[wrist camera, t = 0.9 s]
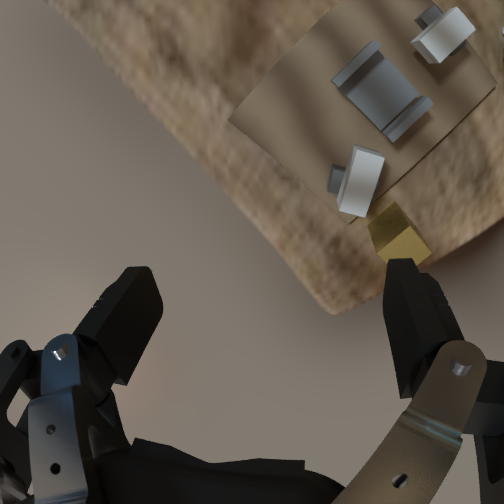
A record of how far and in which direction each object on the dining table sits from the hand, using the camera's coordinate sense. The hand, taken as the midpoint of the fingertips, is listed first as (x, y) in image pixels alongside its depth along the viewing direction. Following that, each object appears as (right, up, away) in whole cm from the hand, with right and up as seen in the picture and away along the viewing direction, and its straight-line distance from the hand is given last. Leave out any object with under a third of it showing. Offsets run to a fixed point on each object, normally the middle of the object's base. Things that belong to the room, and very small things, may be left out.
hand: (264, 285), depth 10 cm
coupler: (+16, +4, +23) cm, 29 cm away
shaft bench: (+12, +17, +16) cm, 26 cm away
